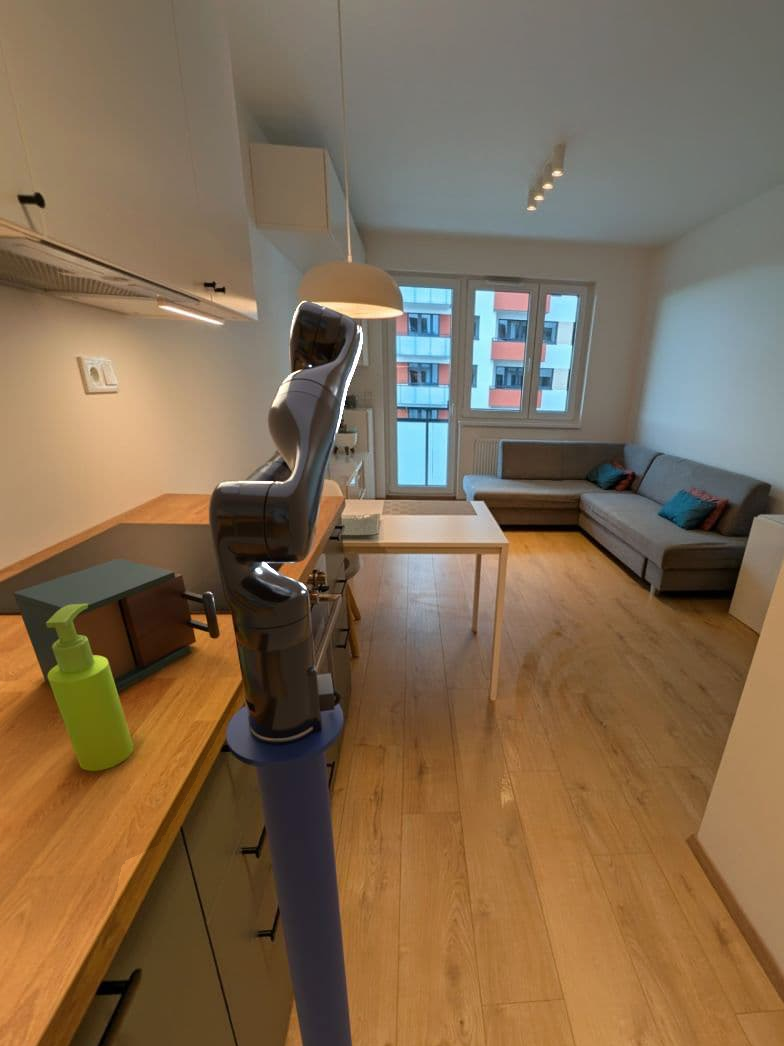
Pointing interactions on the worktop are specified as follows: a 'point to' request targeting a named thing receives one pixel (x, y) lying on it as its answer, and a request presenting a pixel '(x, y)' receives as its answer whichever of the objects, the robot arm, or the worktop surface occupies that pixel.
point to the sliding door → (165, 620)
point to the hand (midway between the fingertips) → (217, 539)
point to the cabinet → (94, 615)
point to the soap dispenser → (87, 697)
